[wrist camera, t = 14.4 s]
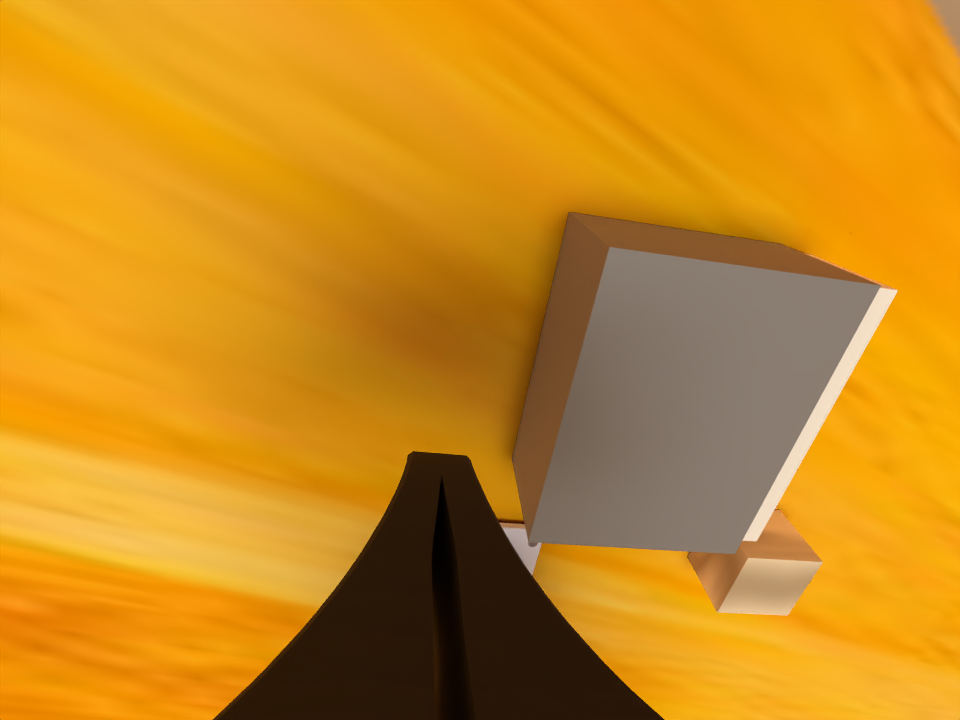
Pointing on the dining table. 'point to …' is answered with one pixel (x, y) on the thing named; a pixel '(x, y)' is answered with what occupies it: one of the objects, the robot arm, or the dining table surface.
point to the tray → (823, 403)
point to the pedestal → (759, 571)
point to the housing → (673, 383)
